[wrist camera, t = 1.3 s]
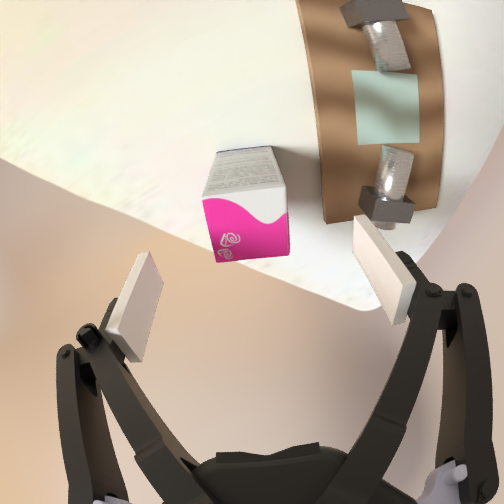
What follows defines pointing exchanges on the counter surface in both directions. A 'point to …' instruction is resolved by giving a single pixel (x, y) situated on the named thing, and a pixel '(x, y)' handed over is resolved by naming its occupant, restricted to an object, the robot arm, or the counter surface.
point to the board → (372, 106)
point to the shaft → (389, 190)
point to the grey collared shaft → (380, 30)
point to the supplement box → (246, 205)
